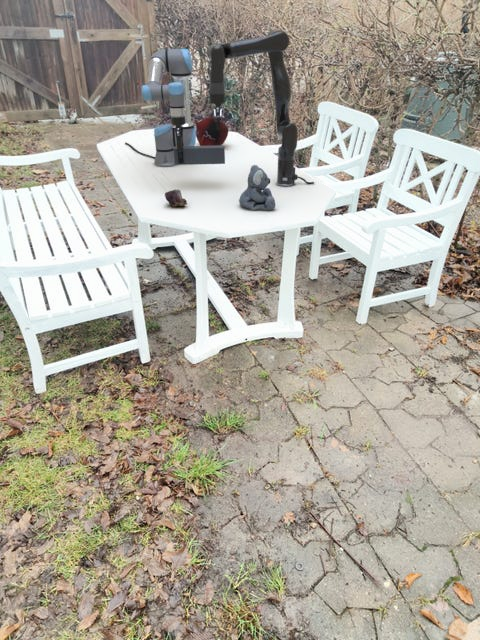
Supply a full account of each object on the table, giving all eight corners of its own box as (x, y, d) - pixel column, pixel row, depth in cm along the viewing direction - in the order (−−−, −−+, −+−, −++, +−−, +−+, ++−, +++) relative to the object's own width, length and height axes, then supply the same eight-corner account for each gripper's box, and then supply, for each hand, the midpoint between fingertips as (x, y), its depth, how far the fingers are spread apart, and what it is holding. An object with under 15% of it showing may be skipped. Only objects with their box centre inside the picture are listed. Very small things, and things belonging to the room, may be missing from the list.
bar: (174, 164, 246) (173, 148, 241) (175, 162, 250) (174, 146, 245) (224, 163, 246) (224, 147, 241) (224, 161, 250) (224, 145, 245)
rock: (181, 203, 237) (163, 205, 233) (179, 186, 233) (160, 188, 229) (189, 206, 227) (170, 209, 223) (187, 189, 224) (168, 191, 220)
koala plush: (276, 211, 223) (277, 171, 212) (240, 212, 222) (240, 172, 211) (271, 199, 237) (272, 161, 226) (237, 200, 236) (237, 162, 225)
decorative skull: (193, 122, 333) (191, 119, 309) (224, 115, 332) (225, 111, 308) (200, 152, 340) (198, 151, 316) (231, 145, 339) (231, 144, 315)
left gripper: (183, 119, 226) (187, 166, 240) (186, 112, 241) (189, 157, 255) (169, 120, 226) (173, 166, 240) (172, 112, 241) (176, 157, 254)
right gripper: (225, 94, 213) (226, 130, 223) (224, 90, 225) (225, 124, 234) (209, 94, 213) (210, 130, 222) (209, 90, 225) (211, 124, 234)
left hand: (181, 161), depth 247 cm, fingers closed on bar, 5 cm apart
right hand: (218, 127), depth 228 cm, fingers open, 8 cm apart
